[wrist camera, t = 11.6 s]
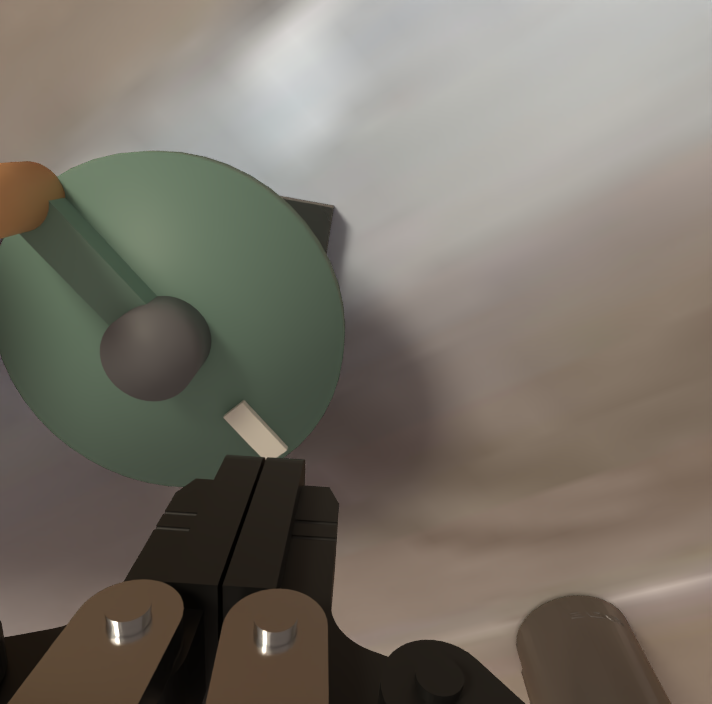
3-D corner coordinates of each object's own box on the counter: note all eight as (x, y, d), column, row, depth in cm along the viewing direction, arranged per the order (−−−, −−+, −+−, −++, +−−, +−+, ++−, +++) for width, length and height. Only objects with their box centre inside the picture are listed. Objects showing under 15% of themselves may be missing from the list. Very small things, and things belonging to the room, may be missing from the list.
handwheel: (411, 353, 31) (428, 436, 22) (177, 520, 35) (115, 645, 26) (158, 38, 26) (53, -13, 17) (-81, 277, 30) (-264, 333, 21)
